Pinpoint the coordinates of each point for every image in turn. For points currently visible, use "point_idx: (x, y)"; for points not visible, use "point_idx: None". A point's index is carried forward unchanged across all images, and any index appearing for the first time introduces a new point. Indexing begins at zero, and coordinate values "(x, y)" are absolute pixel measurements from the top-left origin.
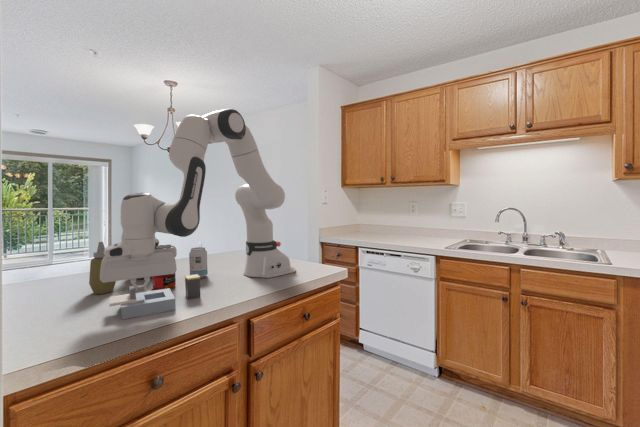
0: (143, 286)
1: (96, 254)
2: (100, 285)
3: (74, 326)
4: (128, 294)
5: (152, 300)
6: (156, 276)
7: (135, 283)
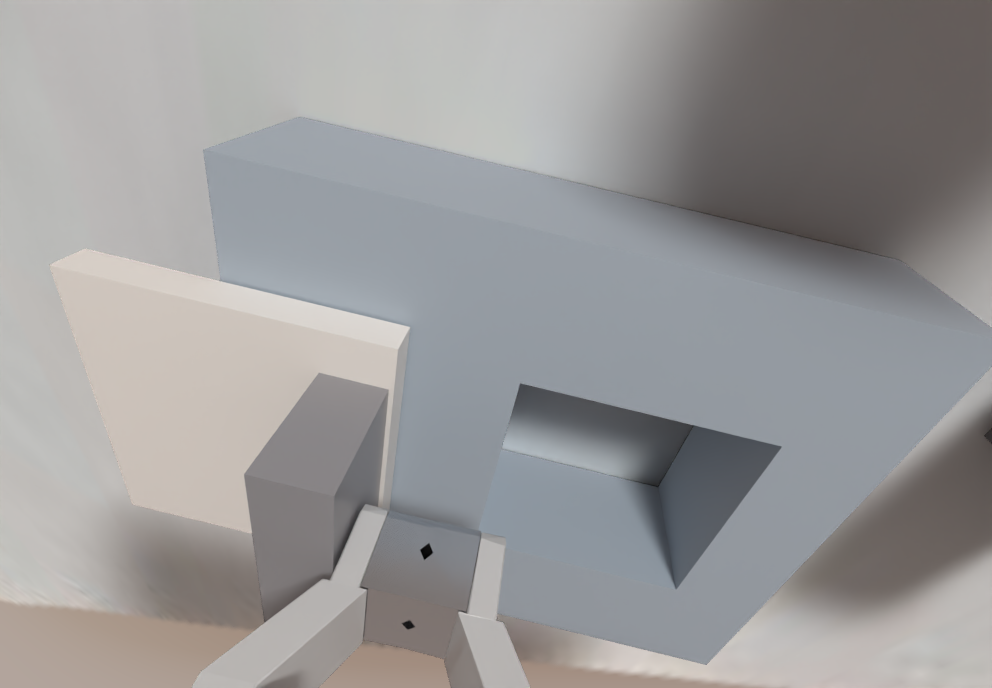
0: (442, 658)
1: None
2: None
3: (7, 361)
4: (303, 354)
5: (525, 587)
6: None
7: (311, 660)
